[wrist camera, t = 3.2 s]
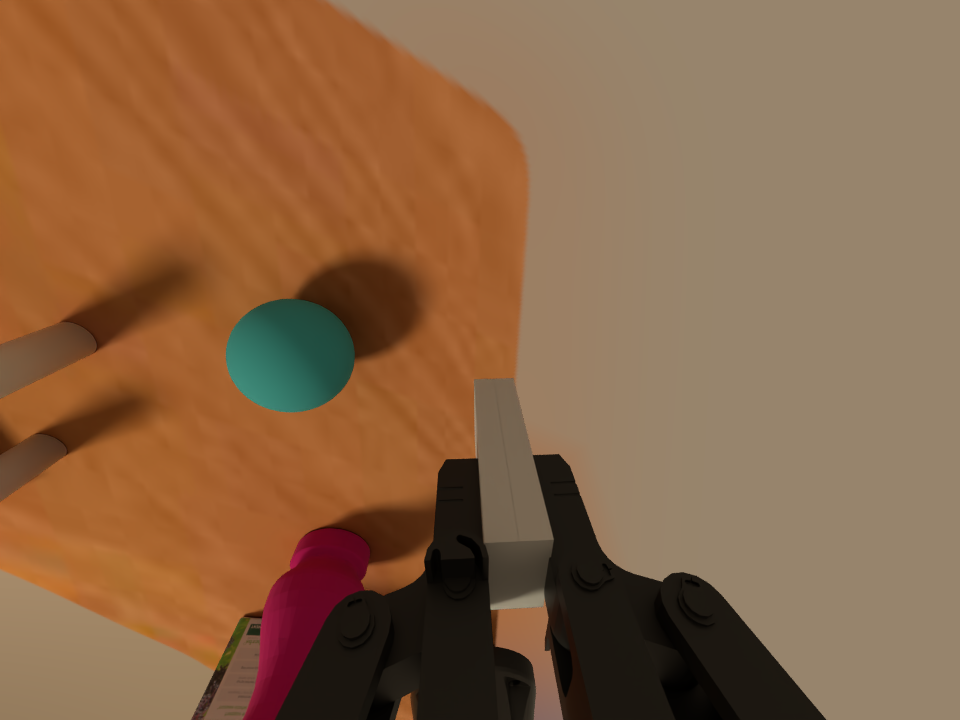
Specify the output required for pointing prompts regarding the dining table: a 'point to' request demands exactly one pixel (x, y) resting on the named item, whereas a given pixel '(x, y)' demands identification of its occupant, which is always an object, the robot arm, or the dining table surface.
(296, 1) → the dining table surface
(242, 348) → the ball
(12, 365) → the ivory pin
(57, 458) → the grey pin
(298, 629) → the pepper mill
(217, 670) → the syrup box
